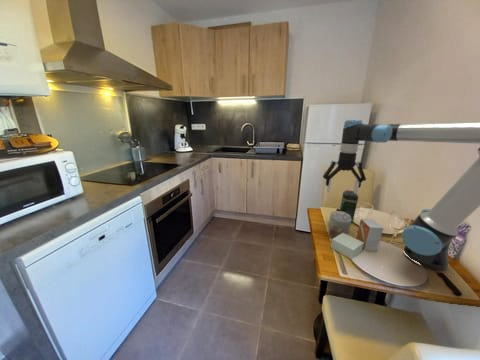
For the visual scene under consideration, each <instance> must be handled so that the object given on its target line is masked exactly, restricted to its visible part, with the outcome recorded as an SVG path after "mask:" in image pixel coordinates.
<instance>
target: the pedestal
mask: <svg viewBox="0 0 480 360" xmlns="http://www.w3.org/2000/svg"><path fill="white" fill-rule="evenodd" d="M363 244H364V243H363V242H361V241H359V240H357V239H356V237H354V236H353V237H352V236H351V235H349V234H348V233H346V234H345V233H342V234H340V235H338V236H337V237H335V238H333V239H332V238H331V244H330V248H331V249H332V250H334V251H336V252H338V253H340V254H341V255H343V256H345V257H346V258H349V259H350V260H352V259H354V258H355V257H356V256H357V255H359V254H360V253H361V252H362V251H363V249H362V248H363ZM359 252H360V253H359ZM358 253H359V254H358ZM355 255H356V256H355ZM354 256H355V257H354Z"/></svg>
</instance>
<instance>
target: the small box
mask: <svg viewBox="0 0 480 360" xmlns="http://www.w3.org/2000/svg"><path fill="white" fill-rule="evenodd" d="M383 230H384V226H382V225H381V224H380V223H379V222H377V221H376V220H375V219H372V218H360V221H359V225H358V229H357V234H356V237H355V239H357V240H359V241H361V242H363V243H364V244H363V249H362V251H364V250H371V251H370V252H377V251H378V248H379V245H380V242H381V237H382V234H383Z"/></svg>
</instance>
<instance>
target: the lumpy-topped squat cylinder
mask: <svg viewBox="0 0 480 360" xmlns="http://www.w3.org/2000/svg"><path fill="white" fill-rule="evenodd" d="M351 221H352V219H351V216H350V215H349V214H347V213H345V212H341V211H340V210H339V211H338V210H334V211H333V210H332V211H330V216H329V221H328V225H329V229H330V228H331V227H332V225H333V226H336V227H339V228H342V233H345V234H348V233H349V232H350V230H351V225H352V223H351Z"/></svg>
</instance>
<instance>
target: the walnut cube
mask: <svg viewBox="0 0 480 360" xmlns="http://www.w3.org/2000/svg"><path fill="white" fill-rule="evenodd" d="M340 234H342V228H339V227H336V226H333V225H332V227H331V228H330V227H329V229H328V236H327V237H328V238H330V239H331V240H332V239H333V238H335V237H337V236H338V235H340Z"/></svg>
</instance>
